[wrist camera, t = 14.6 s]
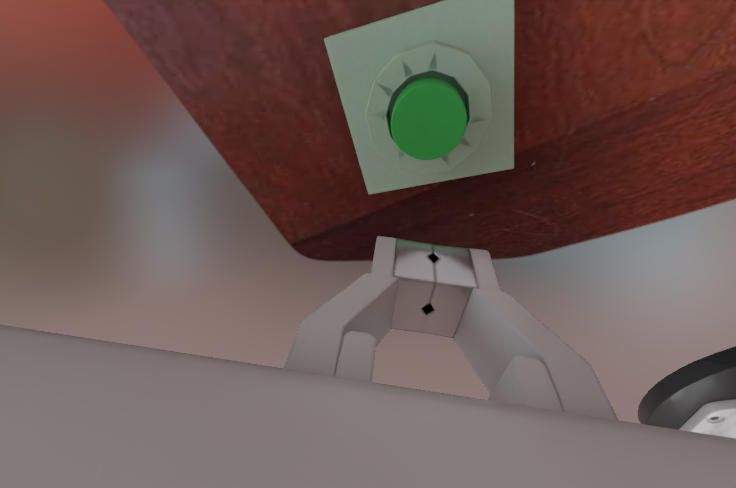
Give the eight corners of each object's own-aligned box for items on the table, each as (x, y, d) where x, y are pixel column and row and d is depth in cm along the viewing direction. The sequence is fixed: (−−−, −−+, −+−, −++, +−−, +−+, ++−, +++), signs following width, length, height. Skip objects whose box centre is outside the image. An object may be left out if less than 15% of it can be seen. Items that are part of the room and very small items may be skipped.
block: (506, 156, 23) (521, 180, 20) (371, 181, 25) (365, 207, 22) (504, -20, 17) (524, -25, 14) (331, 35, 20) (315, 41, 16)
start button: (466, 141, 19) (469, 152, 18) (399, 155, 20) (398, 166, 19) (459, 67, 17) (464, 73, 15) (385, 87, 18) (383, 94, 16)
